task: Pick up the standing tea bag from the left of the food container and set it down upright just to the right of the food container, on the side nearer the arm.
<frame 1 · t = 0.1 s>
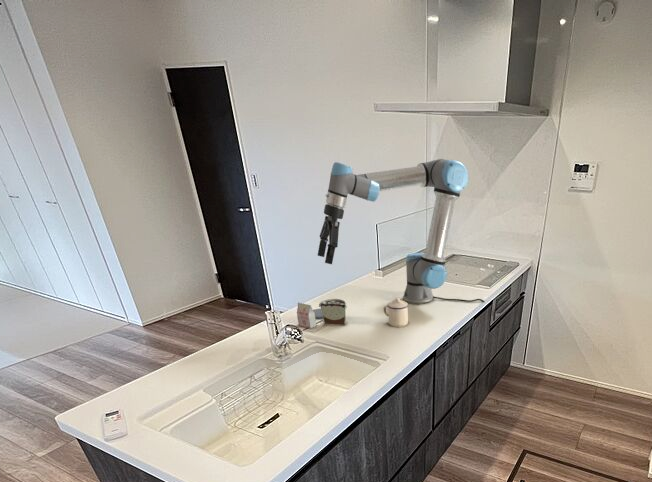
hand: (324, 259, 178), 28 cm above the worktop, tool tilted 20°, fingers open, 13 cm apart
food container: (336, 322, 193), on the worktop
teacup with lid: (395, 323, 194), on the worktop
saucer: (320, 314, 201), on the worktop
tea bag: (307, 326, 190), on the worktop
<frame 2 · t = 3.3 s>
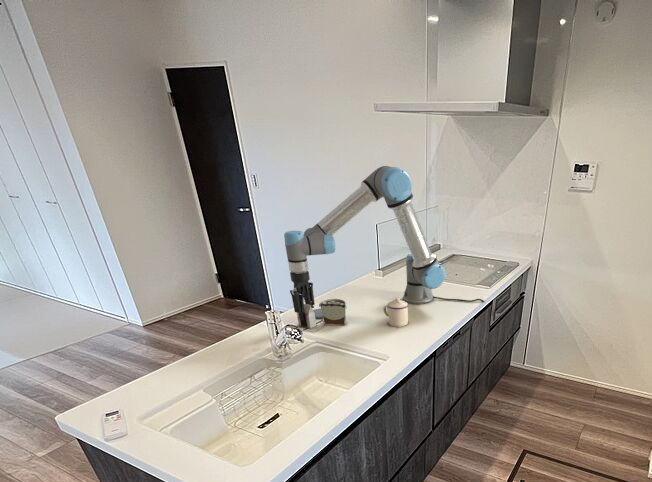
hand: (307, 324, 189), 1 cm above the worktop, tool pointing down, fingers closed on tea bag, 4 cm apart
tea bag: (307, 326, 190), on the worktop, touching gripper
everything else where it was.
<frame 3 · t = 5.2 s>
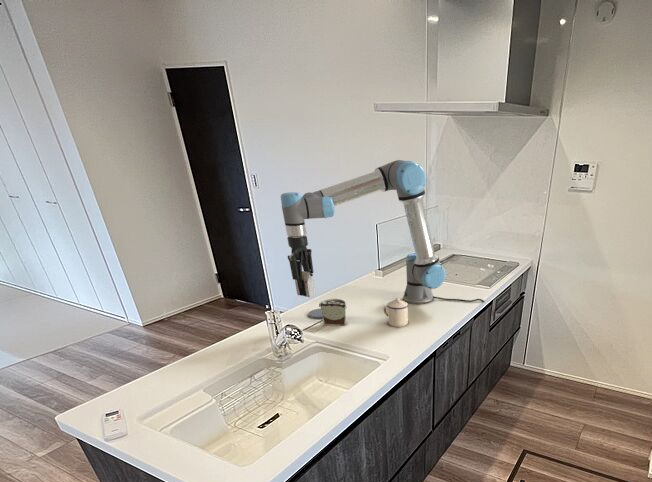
hand: (306, 293, 182), 14 cm above the worktop, tool pointing down, fingers closed on tea bag, 4 cm apart
tea bag: (306, 295, 183), point 14 cm above the worktop, touching gripper
everything else where it was.
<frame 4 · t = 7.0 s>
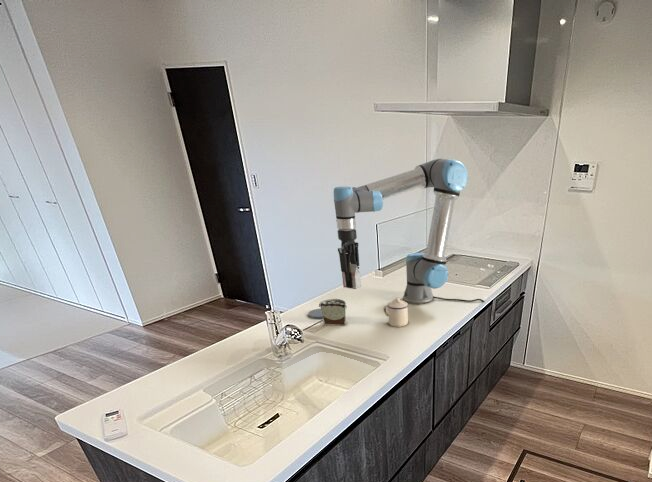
hand: (352, 285, 187), 16 cm above the worktop, tool pointing down, fingers closed on tea bag, 4 cm apart
tea bag: (352, 287, 187), point 15 cm above the worktop, touching gripper
everything else where it was.
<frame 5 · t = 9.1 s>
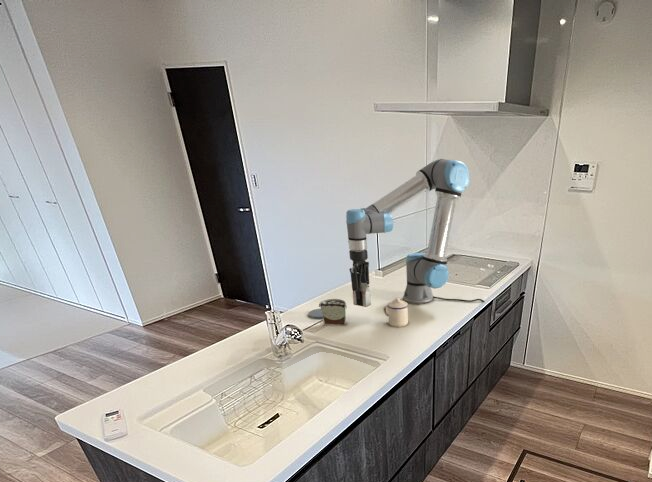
hand: (362, 303, 192), 8 cm above the worktop, tool pointing down, fingers closed on tea bag, 4 cm apart
tea bag: (362, 305, 193), point 7 cm above the worktop, touching gripper
everything else where it was.
when the fingers open (1 cm above the worktop, at t = 10.9 s): tea bag stays where it is, on the worktop.
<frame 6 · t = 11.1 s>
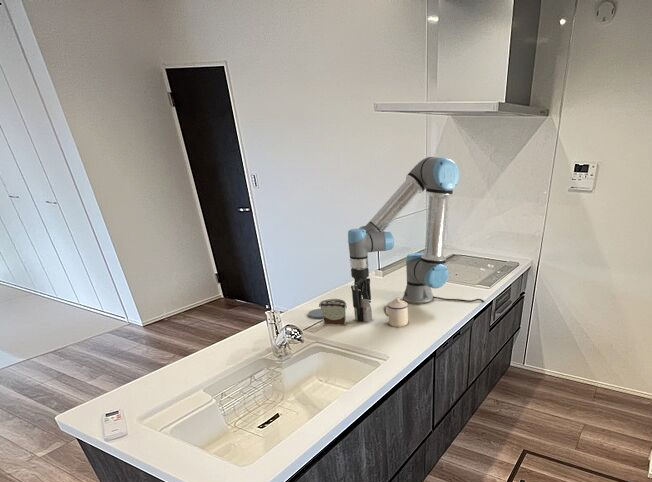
hand: (363, 318, 196), 1 cm above the worktop, tool pointing down, fingers open, 5 cm apart
tea bag: (363, 320, 196), on the worktop
everything else where it was.
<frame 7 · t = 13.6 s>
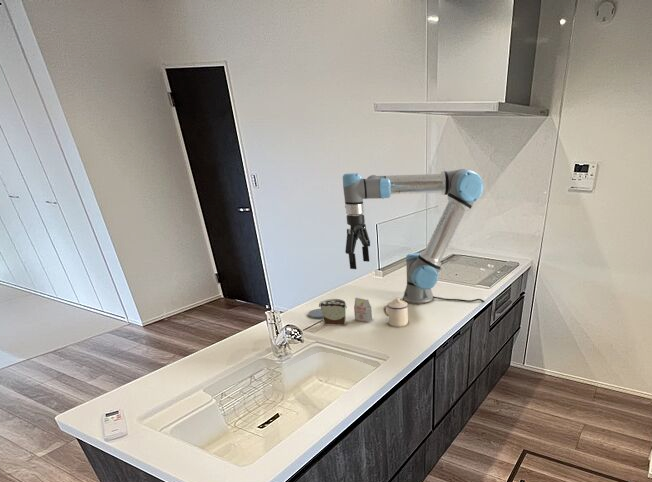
hand: (360, 265, 194), 22 cm above the worktop, tool pointing down, fingers open, 13 cm apart
nothing on the worktop moved.
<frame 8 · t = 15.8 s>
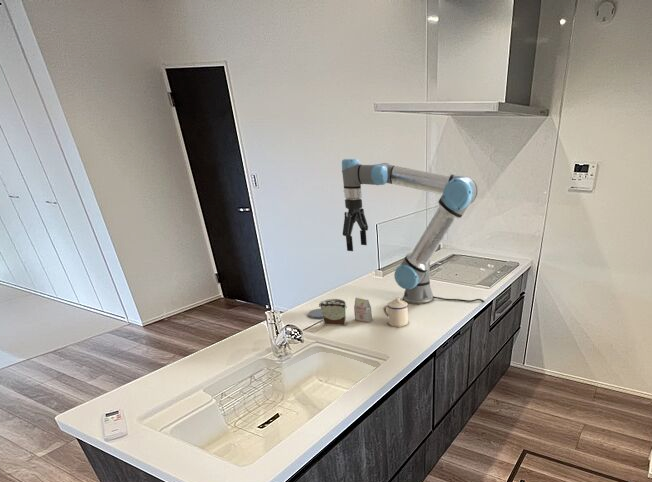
hand: (357, 247, 202), 27 cm above the worktop, tool pointing down, fingers open, 13 cm apart
nothing on the worktop moved.
at the end: tea bag inside the target area on the worktop beside the food container (0.1 cm from its centre), on the worktop; tea bag tilted 0°; food container moved 0.2 cm from its start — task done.
